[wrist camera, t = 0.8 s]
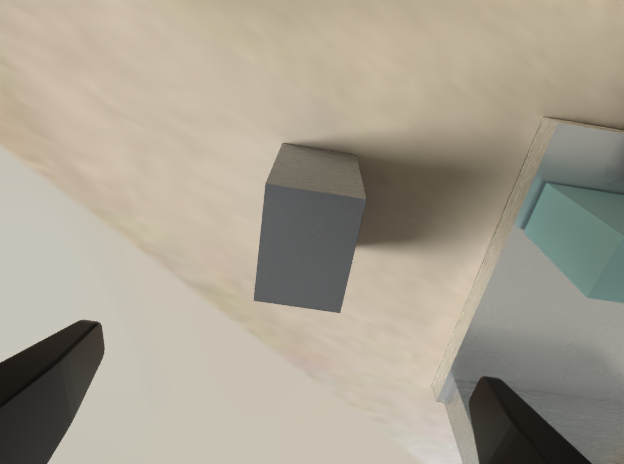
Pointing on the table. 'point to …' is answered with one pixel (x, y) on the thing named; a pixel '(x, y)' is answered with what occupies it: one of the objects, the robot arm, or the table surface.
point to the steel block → (309, 228)
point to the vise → (544, 311)
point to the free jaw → (582, 238)
